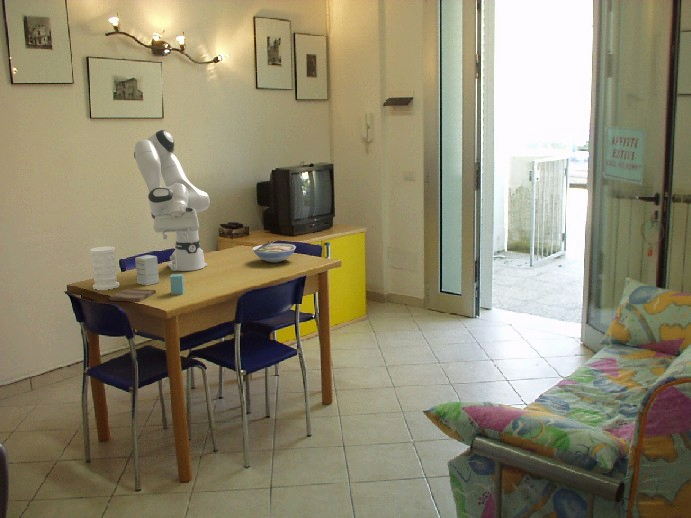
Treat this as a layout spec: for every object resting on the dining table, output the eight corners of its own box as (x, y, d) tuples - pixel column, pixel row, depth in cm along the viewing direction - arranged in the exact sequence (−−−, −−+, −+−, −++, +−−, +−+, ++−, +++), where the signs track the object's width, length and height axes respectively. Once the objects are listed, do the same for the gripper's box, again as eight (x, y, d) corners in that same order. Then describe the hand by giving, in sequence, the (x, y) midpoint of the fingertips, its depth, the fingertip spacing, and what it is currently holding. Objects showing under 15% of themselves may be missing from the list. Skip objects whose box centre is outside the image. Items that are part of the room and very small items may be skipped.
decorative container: (121, 283, 326) (117, 245, 322) (117, 289, 315) (113, 250, 311) (95, 284, 325) (91, 246, 321) (90, 290, 313) (86, 251, 310)
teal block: (172, 291, 309) (171, 274, 307) (184, 291, 309) (183, 273, 307) (171, 294, 304) (169, 276, 302) (183, 294, 304) (181, 276, 303)
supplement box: (150, 280, 330) (148, 254, 328) (159, 282, 326) (157, 256, 323) (136, 283, 325) (134, 257, 322) (146, 285, 320) (144, 259, 317)
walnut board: (126, 291, 310) (126, 288, 310) (155, 293, 307) (155, 289, 307) (109, 300, 297) (109, 296, 296) (139, 301, 294) (139, 298, 293)
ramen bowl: (287, 267, 351) (286, 251, 349) (245, 265, 357) (244, 250, 355) (303, 257, 375) (302, 242, 373) (263, 255, 380) (262, 241, 379)
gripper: (153, 210, 319) (150, 235, 312) (198, 208, 320) (196, 233, 312) (156, 218, 324) (153, 243, 317) (200, 216, 325) (199, 241, 318)
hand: (175, 238), depth 315 cm, fingers open, 8 cm apart
